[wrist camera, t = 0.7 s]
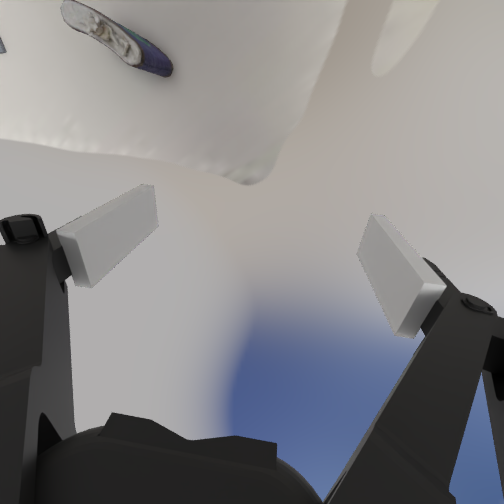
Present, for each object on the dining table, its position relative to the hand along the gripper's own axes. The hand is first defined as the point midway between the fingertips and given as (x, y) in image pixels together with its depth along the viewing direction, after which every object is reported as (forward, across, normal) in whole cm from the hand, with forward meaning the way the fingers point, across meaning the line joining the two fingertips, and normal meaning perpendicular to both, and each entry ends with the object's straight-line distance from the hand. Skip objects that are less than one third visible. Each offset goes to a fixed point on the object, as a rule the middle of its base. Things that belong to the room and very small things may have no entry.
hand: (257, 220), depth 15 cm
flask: (+27, -20, +11) cm, 35 cm away
